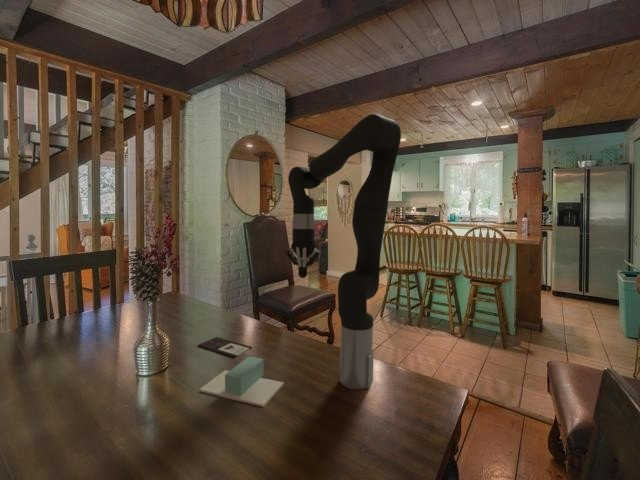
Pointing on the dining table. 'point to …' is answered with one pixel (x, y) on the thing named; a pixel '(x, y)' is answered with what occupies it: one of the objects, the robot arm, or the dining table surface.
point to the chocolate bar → (225, 347)
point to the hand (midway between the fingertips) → (303, 277)
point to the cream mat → (254, 395)
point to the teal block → (244, 376)
